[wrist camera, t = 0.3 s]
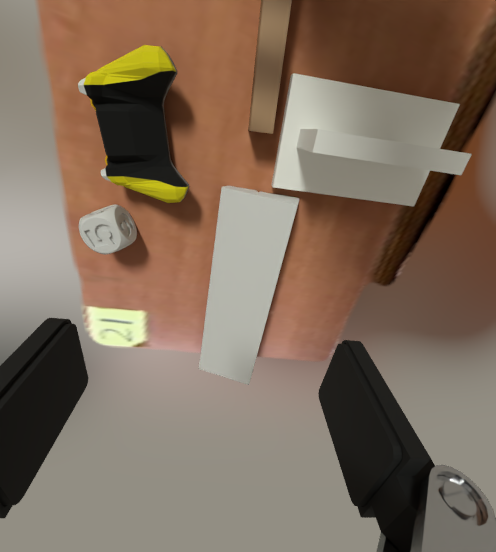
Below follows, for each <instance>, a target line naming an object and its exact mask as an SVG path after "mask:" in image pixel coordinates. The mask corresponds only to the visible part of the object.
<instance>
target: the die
mask: <svg viewBox="0 0 496 552" xmlns="http://www.w3.org/2000/svg"><path fill="white" fill-rule="evenodd" d="M79 231H80V235H81V237H82V239H83V241H84V242H85V243H86V245H87V246H88V247H89V248H91V249H92V250H94V251H96V252H98V253H101V254H110V253H113V252H116V251H119V250H121V249H123V248H125V247H127V246H129V245H130V244H132V243H133V242H134V241H135V240H136V237H137V230H136V226H135V223H134V221H133V219H132V217H131V215H130V214H129V213H128V211H127V210H126V209H124V208H123V207H121V206H119V205H111V206H108V207H105V208H102V209H99V210H97V211H94V212H92V213H90V214H88V215H86V216H84V217H82V218H81V219H80V222H79Z"/></svg>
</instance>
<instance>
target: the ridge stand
mask: <svg viewBox="0 0 496 552" xmlns="http://www.w3.org/2000/svg"><path fill="white" fill-rule="evenodd" d="M459 105H460V104H456V103H451V102H446V101H440V100H435V99H429V98H424V97H419V96H413V95H408V94H402V93H397V92H392V91H386V90H381V89H375V88H370V87H365V86H359V85H354V84H348V83H343V82H338V81H332V80H327V79H321V78H316V77H311V76H305V75H300V74H294V73H293V74H292V75H291V77H290V82H289V88H288V94H287V100H286V105H285V111H284V117H283V123H282V128H281V134H280V140H279V145H278V151H277V157H276V163H275V168H274V174H273V180H272V187H274V188H281V189H289V190H296V191H304V192H311V193H318V194H326V195H333V196H340V197H348V198H355V199H363V200H370V201H377V202H385V203H392V204H399V205H407V206H414V205H415V203H416V201H417V199H418V196H419V194H420V192H421V190H422V187H423V185H424V183H425V181H426V179H427V176H428V174H429V172H430V170H431V171H437V172H444V173H450V174H457V175H461V174H462V172H463V170H464V168H465V166H466V164H467V162H468V160H469V159H470V157H471V154H468V153H462V152H456V151H450V150H443V149H440V147H441V145H442V143H443V141H444V139H445V136H446V134H447V132H448V130H449V127H450V125H451V123H452V121H453V118H454V116H455V114H456V112H457V110H458V107H459Z"/></svg>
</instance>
